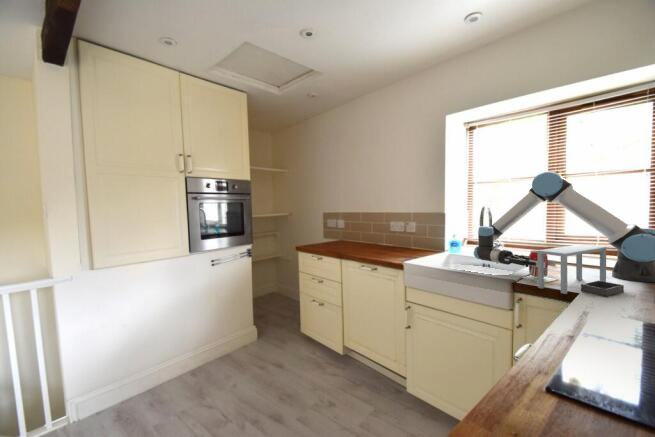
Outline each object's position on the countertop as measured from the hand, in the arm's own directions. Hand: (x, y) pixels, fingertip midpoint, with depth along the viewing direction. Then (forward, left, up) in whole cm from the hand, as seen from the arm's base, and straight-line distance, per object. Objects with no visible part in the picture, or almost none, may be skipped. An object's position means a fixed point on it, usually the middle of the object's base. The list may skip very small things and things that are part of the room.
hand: (549, 264), depth 126 cm
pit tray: (0, +19, -8) cm, 20 cm away
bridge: (0, +9, -8) cm, 12 cm away
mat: (0, -4, -8) cm, 9 cm away
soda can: (0, -5, -7) cm, 8 cm away
